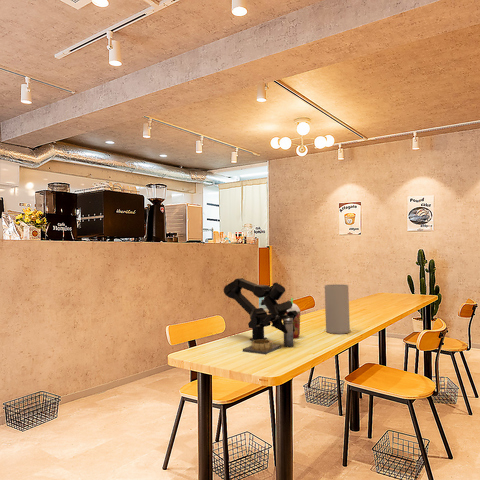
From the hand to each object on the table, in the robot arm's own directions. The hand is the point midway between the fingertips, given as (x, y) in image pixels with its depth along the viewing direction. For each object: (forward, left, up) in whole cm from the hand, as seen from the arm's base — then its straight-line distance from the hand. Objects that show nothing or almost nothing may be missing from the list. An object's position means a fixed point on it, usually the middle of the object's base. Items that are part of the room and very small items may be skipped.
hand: (290, 332), depth 190 cm
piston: (0, -1, -7) cm, 7 cm away
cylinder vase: (-41, +8, -7) cm, 43 cm away
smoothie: (-19, -8, -7) cm, 22 cm away
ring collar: (+11, -9, -7) cm, 16 cm away
